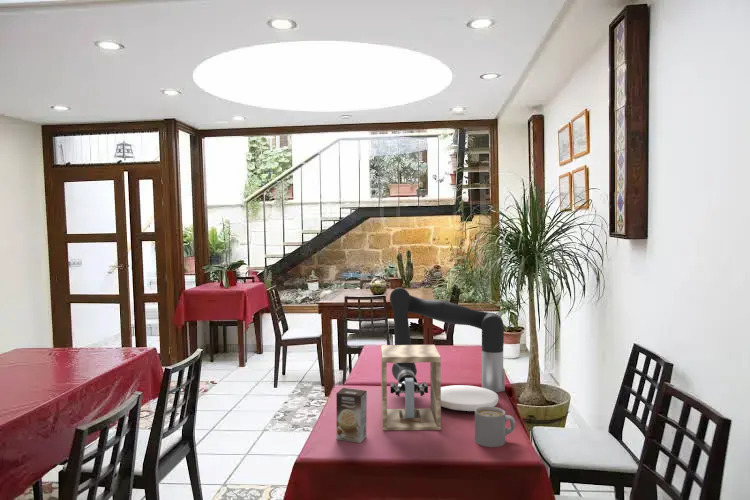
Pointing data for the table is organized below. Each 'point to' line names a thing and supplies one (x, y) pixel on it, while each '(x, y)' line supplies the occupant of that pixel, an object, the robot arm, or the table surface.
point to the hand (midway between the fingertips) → (410, 393)
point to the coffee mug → (492, 426)
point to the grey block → (409, 397)
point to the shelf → (430, 417)
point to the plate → (467, 397)
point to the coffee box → (351, 414)
